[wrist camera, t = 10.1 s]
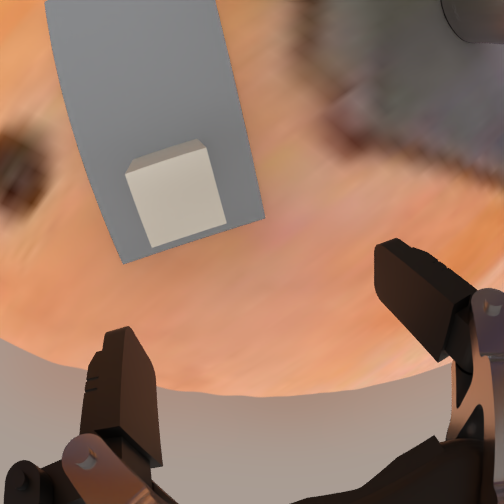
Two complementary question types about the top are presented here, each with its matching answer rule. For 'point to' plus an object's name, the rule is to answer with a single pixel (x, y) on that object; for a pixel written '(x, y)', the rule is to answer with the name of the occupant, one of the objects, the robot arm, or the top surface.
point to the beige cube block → (175, 192)
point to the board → (151, 103)
